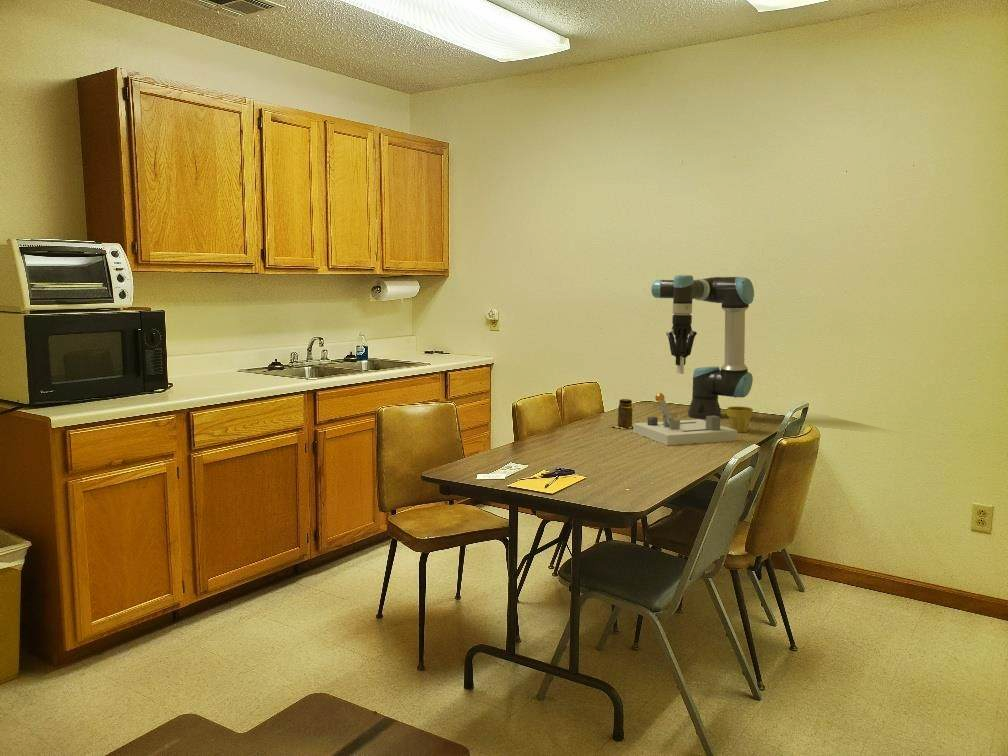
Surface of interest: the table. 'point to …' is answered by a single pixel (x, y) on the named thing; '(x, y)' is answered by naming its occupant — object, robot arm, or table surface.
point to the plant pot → (739, 417)
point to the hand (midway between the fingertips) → (680, 373)
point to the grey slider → (713, 422)
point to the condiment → (625, 413)
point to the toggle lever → (664, 407)
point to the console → (682, 431)
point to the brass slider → (674, 415)
